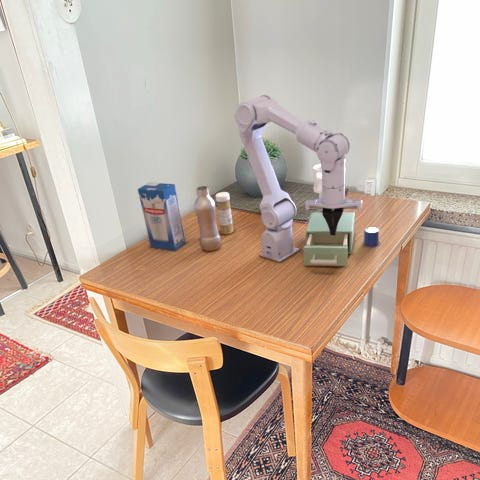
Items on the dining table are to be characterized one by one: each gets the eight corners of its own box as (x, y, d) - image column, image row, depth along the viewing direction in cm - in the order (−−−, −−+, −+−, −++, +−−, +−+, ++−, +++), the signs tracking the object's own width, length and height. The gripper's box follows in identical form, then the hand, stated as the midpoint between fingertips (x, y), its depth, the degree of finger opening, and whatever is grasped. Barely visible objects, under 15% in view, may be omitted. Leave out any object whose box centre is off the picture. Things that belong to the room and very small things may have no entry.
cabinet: (351, 254, 142) (351, 231, 138) (306, 253, 145) (305, 231, 141) (354, 233, 153) (354, 212, 149) (312, 233, 157) (311, 212, 153)
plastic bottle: (219, 253, 152) (210, 191, 141) (198, 253, 153) (188, 192, 142) (223, 244, 157) (215, 184, 146) (204, 244, 159) (194, 184, 147)
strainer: (321, 209, 172) (321, 167, 164) (309, 204, 178) (308, 163, 169) (337, 204, 175) (337, 163, 166) (325, 199, 180) (325, 159, 172)
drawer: (345, 274, 131) (346, 256, 128) (301, 273, 134) (301, 255, 131) (350, 245, 145) (350, 227, 142) (310, 244, 148) (309, 227, 145)
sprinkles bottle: (228, 228, 168) (223, 190, 160) (236, 231, 165) (231, 193, 157) (217, 232, 165) (212, 194, 158) (225, 236, 162) (220, 197, 155)
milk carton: (150, 247, 161) (137, 188, 150) (161, 239, 166) (149, 182, 155) (175, 250, 157) (163, 190, 146) (185, 242, 161) (174, 184, 150)
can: (373, 247, 144) (374, 233, 141) (361, 244, 146) (361, 230, 144) (380, 242, 146) (381, 228, 144) (368, 239, 149) (369, 225, 146)
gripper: (363, 179, 125) (361, 228, 132) (307, 180, 129) (309, 227, 136) (361, 188, 119) (359, 239, 127) (303, 189, 123) (304, 238, 131)
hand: (333, 233), depth 131 cm, fingers closed
